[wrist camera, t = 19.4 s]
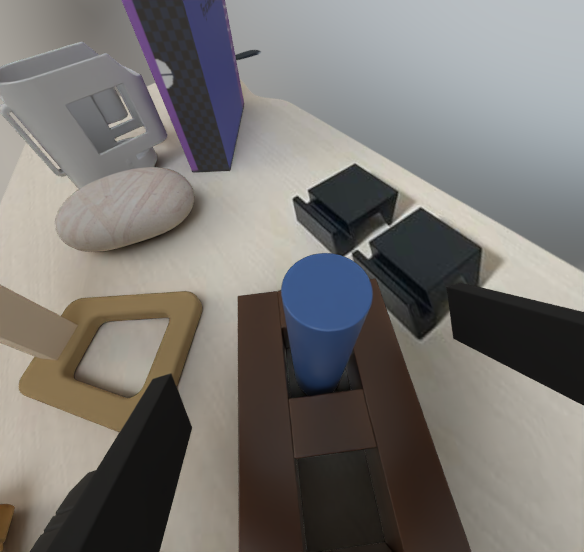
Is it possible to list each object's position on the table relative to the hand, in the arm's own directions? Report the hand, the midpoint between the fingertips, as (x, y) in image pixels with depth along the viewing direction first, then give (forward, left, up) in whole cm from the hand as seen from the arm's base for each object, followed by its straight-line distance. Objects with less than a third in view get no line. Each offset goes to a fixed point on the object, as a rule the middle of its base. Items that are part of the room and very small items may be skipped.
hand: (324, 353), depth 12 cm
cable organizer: (-19, +29, -8) cm, 35 cm away
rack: (0, -2, -8) cm, 8 cm away
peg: (0, +1, -8) cm, 8 cm away
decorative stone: (-16, +19, -8) cm, 26 cm away
